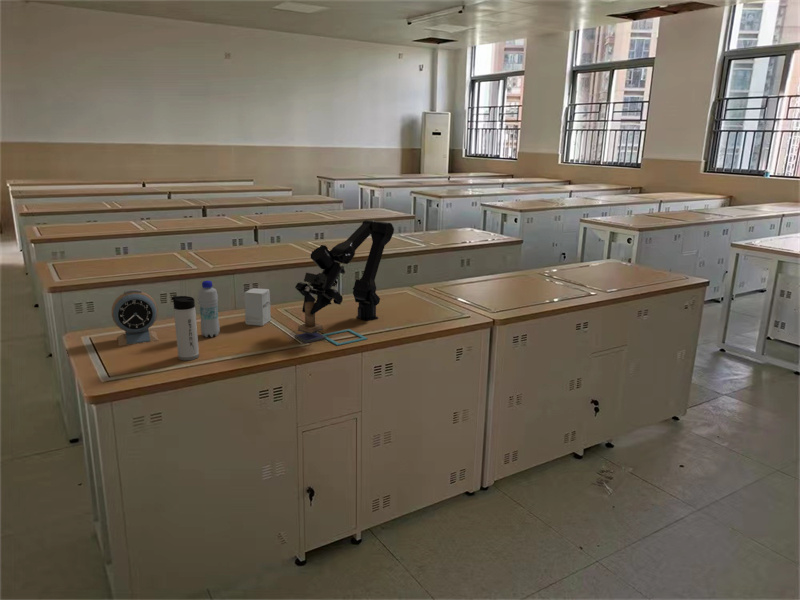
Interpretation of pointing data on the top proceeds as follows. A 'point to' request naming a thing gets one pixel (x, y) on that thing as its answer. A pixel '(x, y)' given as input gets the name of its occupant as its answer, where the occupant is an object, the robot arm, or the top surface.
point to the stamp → (309, 320)
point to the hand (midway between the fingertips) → (307, 313)
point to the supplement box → (257, 306)
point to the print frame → (346, 341)
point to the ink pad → (310, 337)
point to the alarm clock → (135, 317)
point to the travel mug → (186, 327)
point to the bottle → (208, 309)
